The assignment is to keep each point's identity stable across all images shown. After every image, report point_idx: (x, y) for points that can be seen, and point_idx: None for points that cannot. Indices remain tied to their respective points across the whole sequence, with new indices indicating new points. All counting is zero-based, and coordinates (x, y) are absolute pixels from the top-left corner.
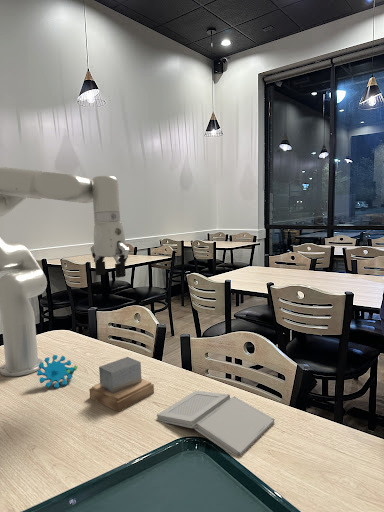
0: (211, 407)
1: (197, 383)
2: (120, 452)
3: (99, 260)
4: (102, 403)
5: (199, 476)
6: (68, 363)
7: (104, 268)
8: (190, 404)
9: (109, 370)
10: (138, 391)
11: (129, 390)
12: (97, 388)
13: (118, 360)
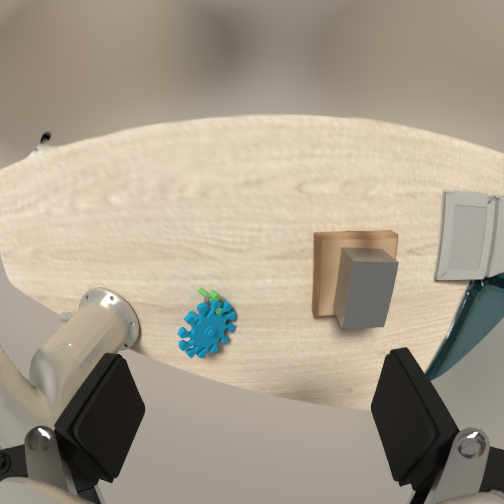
0: (490, 240)
1: (425, 157)
2: (431, 339)
3: (89, 477)
4: None
5: (491, 308)
6: (205, 310)
7: (107, 393)
8: (463, 239)
9: (372, 324)
10: None
11: None
12: (333, 313)
13: (352, 286)
